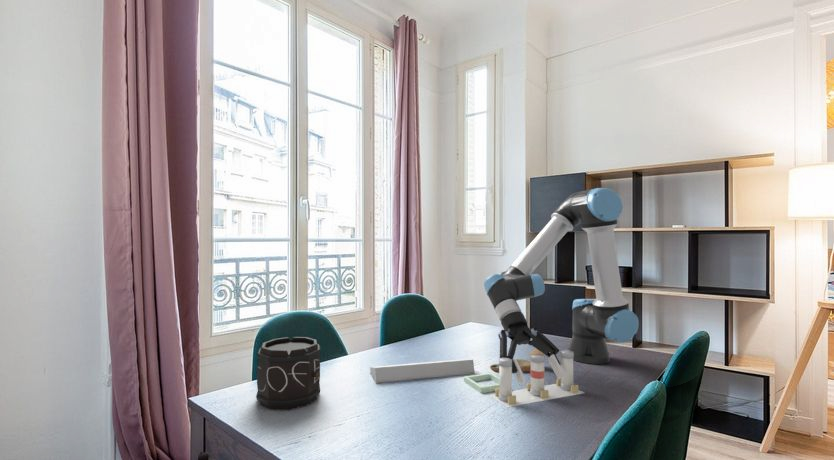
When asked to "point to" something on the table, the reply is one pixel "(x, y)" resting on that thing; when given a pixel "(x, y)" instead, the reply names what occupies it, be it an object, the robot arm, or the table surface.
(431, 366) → the decorative molding
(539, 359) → the marked fuse
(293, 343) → the coffee canister
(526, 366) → the oil lamp
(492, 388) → the tray
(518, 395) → the fuse block
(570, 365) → the fuse
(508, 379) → the cylinder
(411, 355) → the table surface
